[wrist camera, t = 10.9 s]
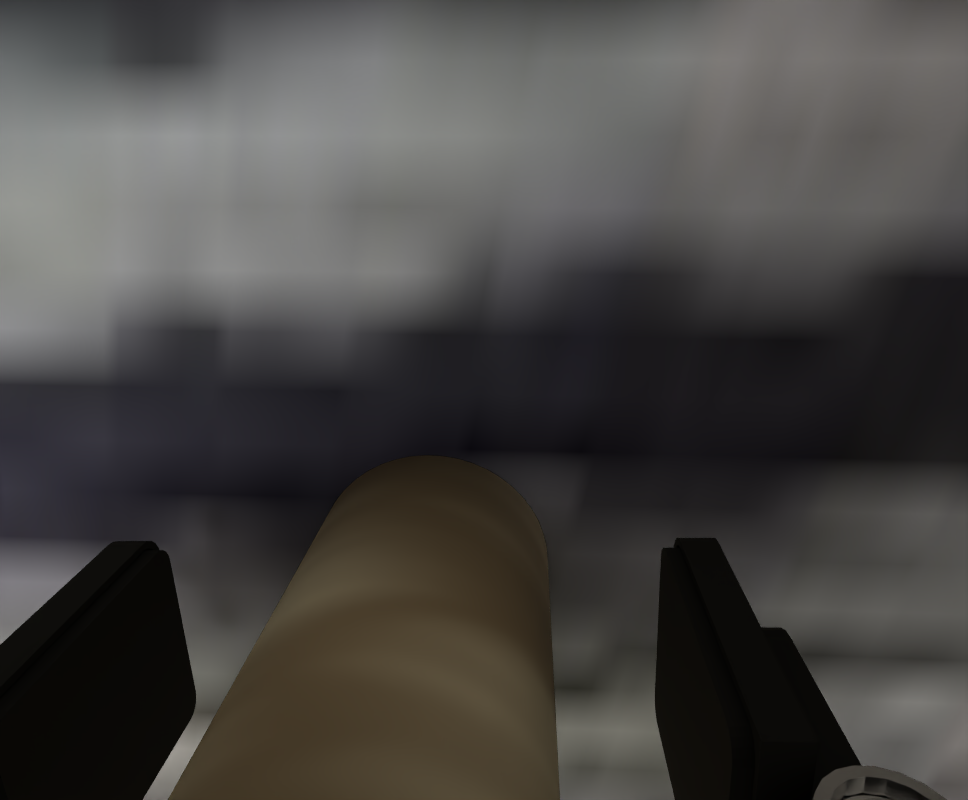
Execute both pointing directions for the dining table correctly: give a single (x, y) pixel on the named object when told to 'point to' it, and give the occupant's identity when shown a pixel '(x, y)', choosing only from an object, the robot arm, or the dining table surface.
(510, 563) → the loose leg
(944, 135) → the dining table surface
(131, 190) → the dining table surface
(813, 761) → the robot arm
